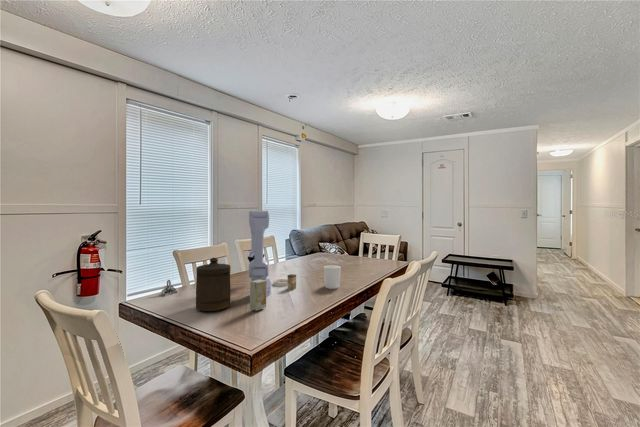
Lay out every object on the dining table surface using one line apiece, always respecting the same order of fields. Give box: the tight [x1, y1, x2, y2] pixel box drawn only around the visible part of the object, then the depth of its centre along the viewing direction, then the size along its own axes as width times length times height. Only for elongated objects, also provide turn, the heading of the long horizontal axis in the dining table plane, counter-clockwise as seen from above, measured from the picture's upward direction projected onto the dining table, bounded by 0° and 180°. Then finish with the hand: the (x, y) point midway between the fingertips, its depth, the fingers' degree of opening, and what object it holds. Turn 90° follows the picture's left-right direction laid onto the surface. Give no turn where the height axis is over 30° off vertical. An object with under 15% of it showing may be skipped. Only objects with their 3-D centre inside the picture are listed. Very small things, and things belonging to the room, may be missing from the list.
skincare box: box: [249, 279, 267, 311], centre depth 131 cm, size 6×4×12 cm
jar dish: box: [272, 278, 288, 287], centre depth 173 cm, size 9×9×2 cm
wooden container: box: [195, 257, 231, 312], centre depth 134 cm, size 15×15×22 cm
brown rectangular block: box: [287, 273, 297, 291], centre depth 163 cm, size 4×4×8 cm
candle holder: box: [323, 264, 342, 290], centre depth 167 cm, size 10×10×12 cm
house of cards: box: [160, 279, 178, 297], centre depth 156 cm, size 9×9×8 cm
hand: (256, 267), depth 172 cm, fingers open, 7 cm apart
